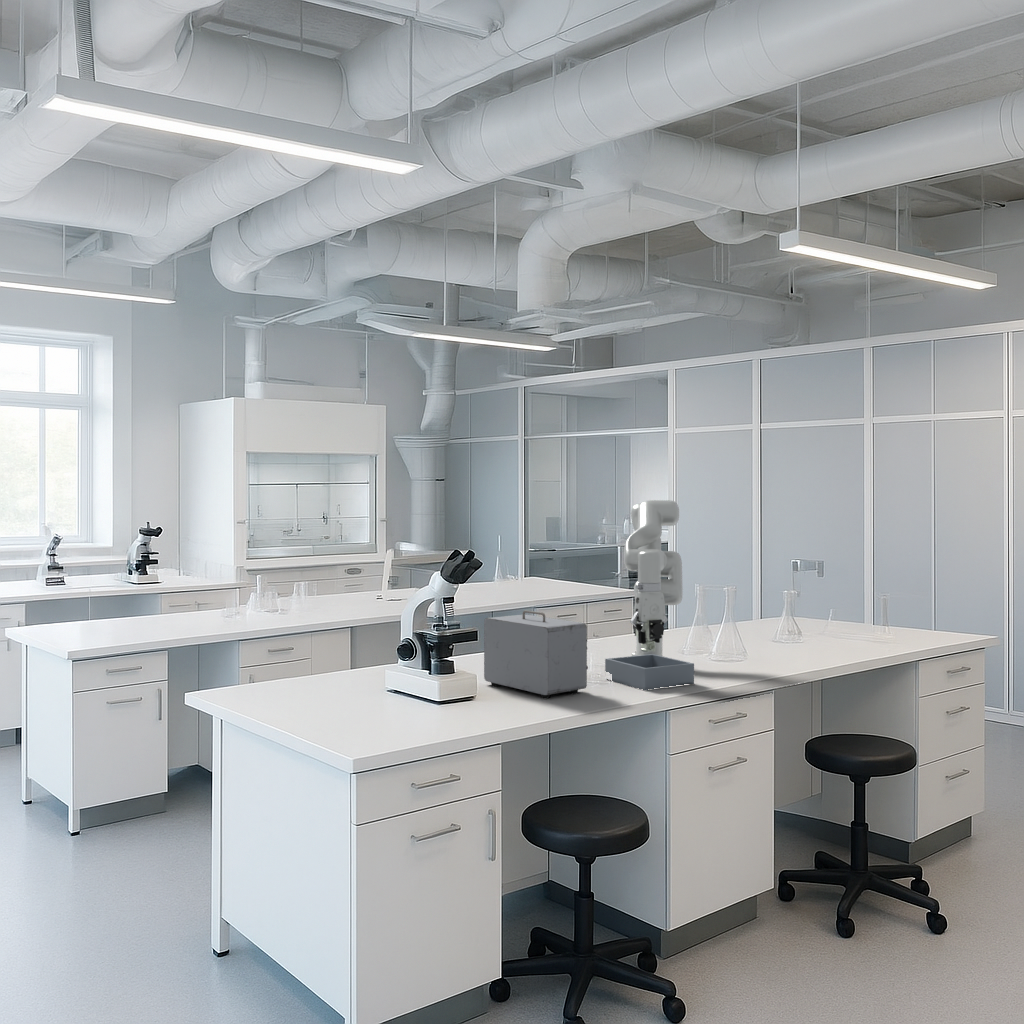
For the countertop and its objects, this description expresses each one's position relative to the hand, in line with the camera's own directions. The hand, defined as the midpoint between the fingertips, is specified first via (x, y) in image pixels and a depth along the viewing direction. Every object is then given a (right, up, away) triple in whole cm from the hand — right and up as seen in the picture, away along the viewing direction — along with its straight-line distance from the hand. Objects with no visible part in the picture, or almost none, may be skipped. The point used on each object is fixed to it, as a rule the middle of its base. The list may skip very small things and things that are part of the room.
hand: (649, 642), depth 325 cm
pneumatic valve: (0, -3, 0) cm, 3 cm away
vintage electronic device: (-38, -14, -11) cm, 41 cm away
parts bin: (0, -13, 0) cm, 13 cm away
